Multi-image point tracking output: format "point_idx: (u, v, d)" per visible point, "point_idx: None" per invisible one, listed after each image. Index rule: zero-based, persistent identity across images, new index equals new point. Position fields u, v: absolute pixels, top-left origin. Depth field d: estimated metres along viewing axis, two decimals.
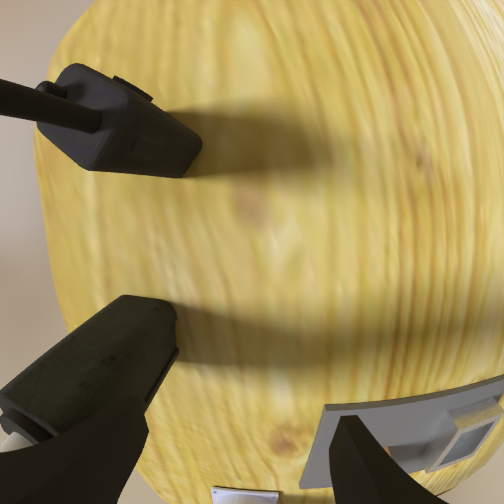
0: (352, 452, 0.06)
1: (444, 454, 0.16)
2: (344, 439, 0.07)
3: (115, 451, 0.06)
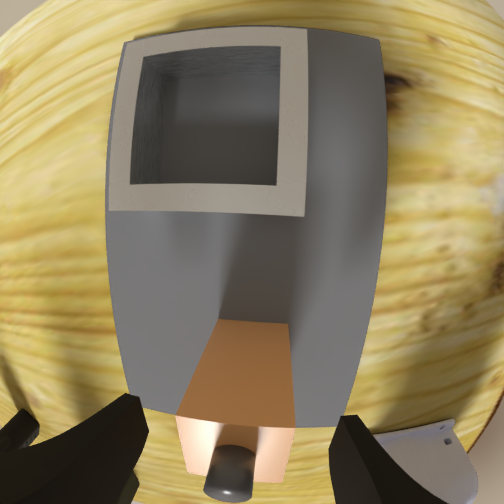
0: (352, 452, 0.06)
1: (205, 196, 0.10)
2: (344, 439, 0.07)
3: (115, 451, 0.06)
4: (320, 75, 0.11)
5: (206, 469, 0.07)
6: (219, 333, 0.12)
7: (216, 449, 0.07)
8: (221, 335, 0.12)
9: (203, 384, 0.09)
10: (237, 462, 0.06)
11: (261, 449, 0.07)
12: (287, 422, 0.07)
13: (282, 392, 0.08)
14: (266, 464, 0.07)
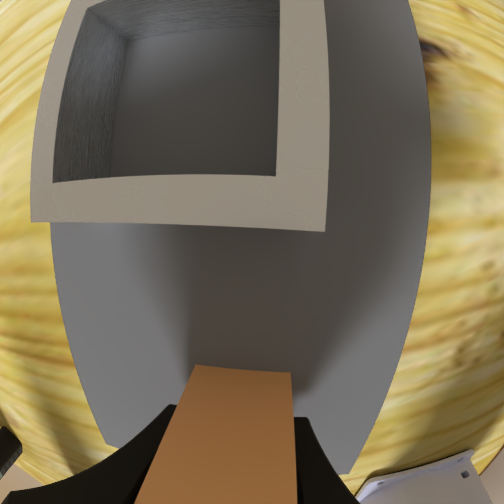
0: None
1: (154, 197, 0.05)
2: None
3: None
4: (335, 28, 0.07)
5: None
6: (194, 390, 0.08)
7: None
8: (197, 394, 0.08)
9: (164, 482, 0.04)
10: None
11: None
12: None
13: (280, 499, 0.04)
14: None
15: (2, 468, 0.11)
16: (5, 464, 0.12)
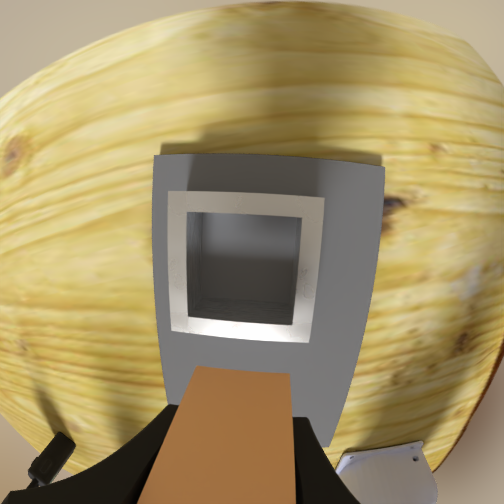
0: None
1: (244, 330, 0.14)
2: None
3: None
4: (329, 211, 0.16)
5: None
6: (195, 390, 0.08)
7: None
8: (198, 394, 0.08)
9: (167, 480, 0.05)
10: None
11: None
12: None
13: (279, 496, 0.04)
14: None
15: (60, 467, 0.20)
16: (63, 463, 0.21)
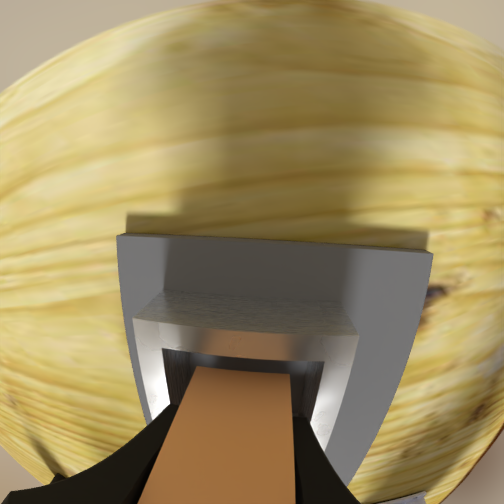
0: None
1: None
2: None
3: None
4: (357, 317, 0.11)
5: None
6: (196, 391, 0.08)
7: None
8: (198, 395, 0.08)
9: (167, 480, 0.05)
10: None
11: None
12: None
13: (279, 496, 0.04)
14: None
15: None
16: None
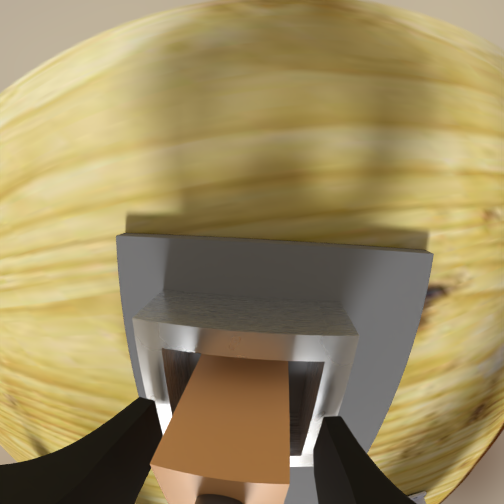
0: (333, 454, 0.06)
1: None
2: (326, 440, 0.07)
3: (132, 457, 0.06)
4: (357, 317, 0.11)
5: None
6: (208, 358, 0.10)
7: (199, 496, 0.05)
8: (210, 361, 0.10)
9: (184, 425, 0.07)
10: None
11: (250, 500, 0.05)
12: (280, 476, 0.05)
13: (276, 437, 0.06)
14: None
15: None
16: None
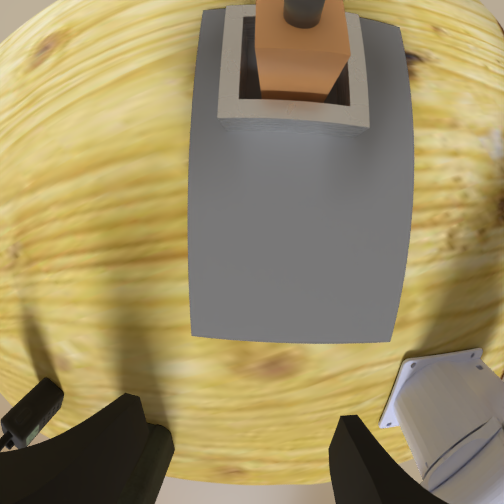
0: (352, 452, 0.06)
1: (301, 109, 0.12)
2: (344, 439, 0.07)
3: (115, 451, 0.06)
4: None
5: (275, 37, 0.08)
6: None
7: None
8: None
9: None
10: None
11: (322, 9, 0.07)
12: None
13: None
14: (329, 25, 0.07)
15: (42, 420, 0.18)
16: (45, 415, 0.19)
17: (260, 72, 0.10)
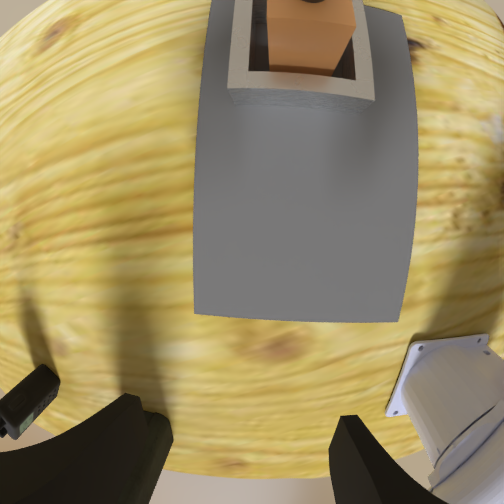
0: (352, 452, 0.06)
1: (309, 81, 0.12)
2: (344, 439, 0.07)
3: (115, 451, 0.06)
4: None
5: (286, 9, 0.07)
6: None
7: None
8: None
9: None
10: None
11: None
12: None
13: None
14: (336, 1, 0.07)
15: (36, 407, 0.17)
16: (40, 403, 0.18)
17: (270, 44, 0.10)
